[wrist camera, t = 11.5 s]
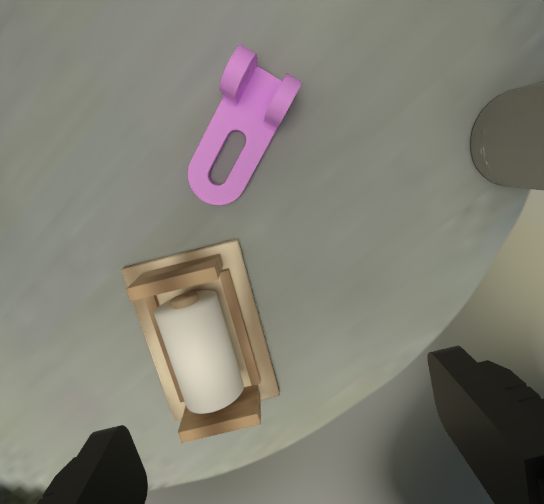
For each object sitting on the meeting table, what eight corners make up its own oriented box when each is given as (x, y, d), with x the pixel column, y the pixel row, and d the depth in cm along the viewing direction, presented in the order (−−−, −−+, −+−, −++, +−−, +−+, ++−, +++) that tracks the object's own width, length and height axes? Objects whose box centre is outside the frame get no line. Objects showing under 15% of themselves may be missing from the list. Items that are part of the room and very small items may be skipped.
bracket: (243, 61, 35) (240, 37, 28) (295, 93, 36) (304, 78, 29) (180, 185, 38) (163, 191, 31) (230, 213, 38) (224, 224, 32)
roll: (160, 293, 39) (144, 317, 33) (217, 279, 39) (210, 300, 33) (192, 388, 41) (182, 425, 36) (246, 374, 41) (244, 410, 36)
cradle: (237, 238, 39) (234, 252, 33) (279, 390, 43) (282, 426, 37) (124, 267, 39) (101, 285, 33) (176, 414, 43) (164, 454, 37)
